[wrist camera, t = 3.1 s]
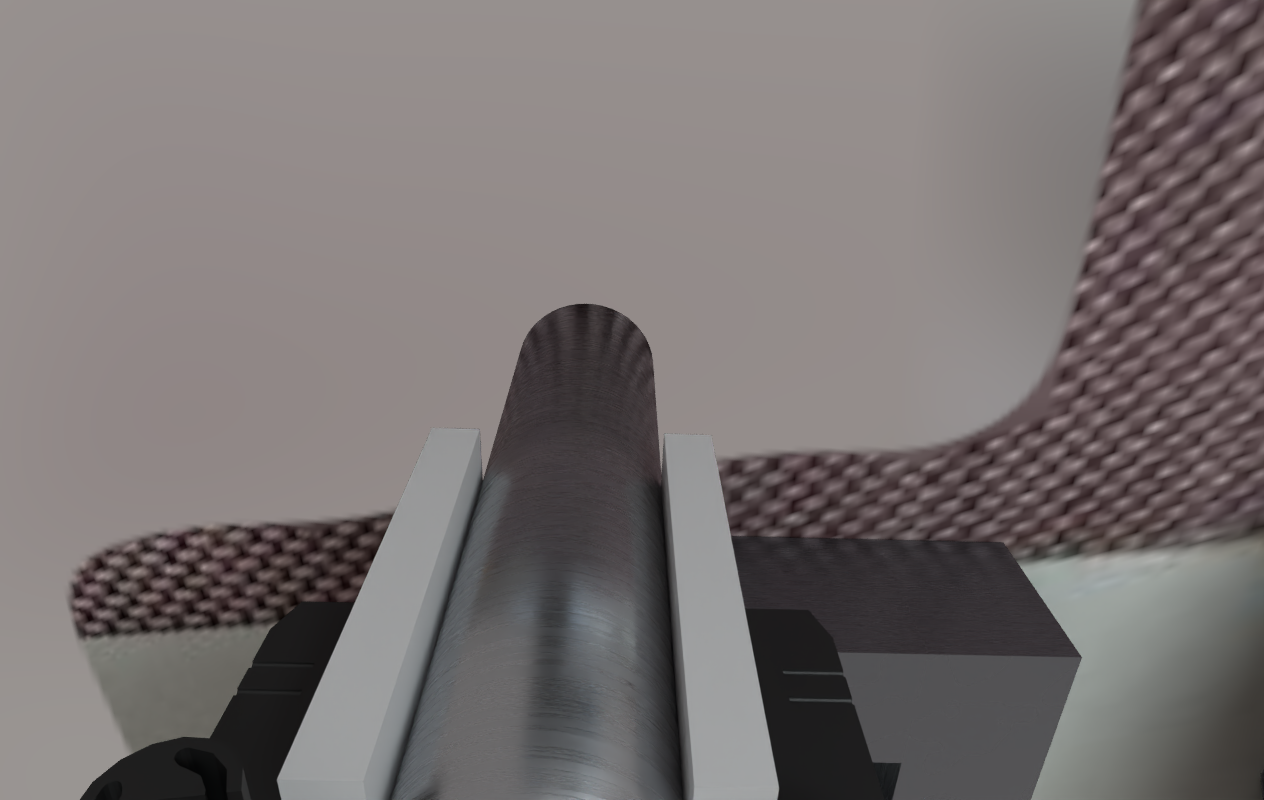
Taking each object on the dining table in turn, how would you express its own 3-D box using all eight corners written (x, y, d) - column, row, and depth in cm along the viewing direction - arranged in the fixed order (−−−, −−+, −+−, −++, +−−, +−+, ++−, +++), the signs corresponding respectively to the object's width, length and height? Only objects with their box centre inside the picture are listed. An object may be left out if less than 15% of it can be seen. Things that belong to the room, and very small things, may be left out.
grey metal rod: (512, 297, 18) (174, 1220, 4) (661, 301, 18) (765, 1226, 5) (516, 427, 19) (269, 1429, 6) (654, 431, 19) (718, 1430, 6)
